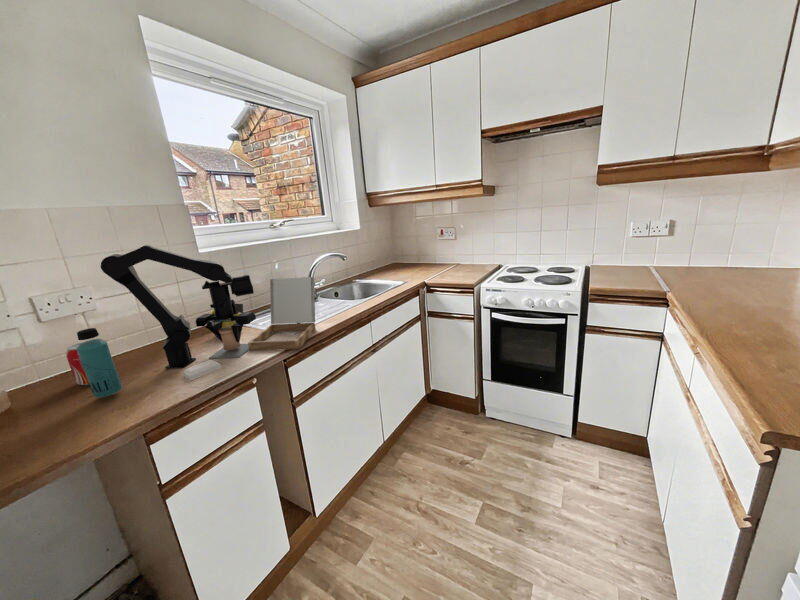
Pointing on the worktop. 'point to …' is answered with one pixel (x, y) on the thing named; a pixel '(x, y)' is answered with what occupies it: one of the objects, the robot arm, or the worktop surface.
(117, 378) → the beverage bottle
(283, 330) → the wooden tray
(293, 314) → the lid
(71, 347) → the soda can
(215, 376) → the worktop surface
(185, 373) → the soap bar
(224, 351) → the grey mat
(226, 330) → the clay pot
